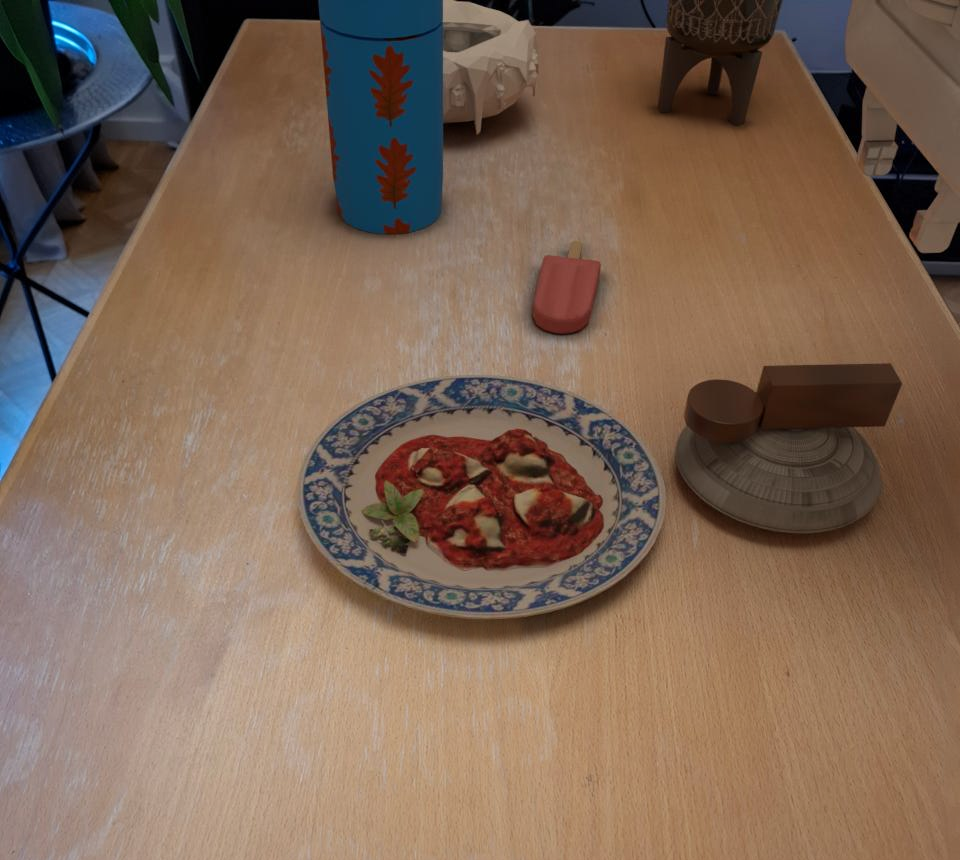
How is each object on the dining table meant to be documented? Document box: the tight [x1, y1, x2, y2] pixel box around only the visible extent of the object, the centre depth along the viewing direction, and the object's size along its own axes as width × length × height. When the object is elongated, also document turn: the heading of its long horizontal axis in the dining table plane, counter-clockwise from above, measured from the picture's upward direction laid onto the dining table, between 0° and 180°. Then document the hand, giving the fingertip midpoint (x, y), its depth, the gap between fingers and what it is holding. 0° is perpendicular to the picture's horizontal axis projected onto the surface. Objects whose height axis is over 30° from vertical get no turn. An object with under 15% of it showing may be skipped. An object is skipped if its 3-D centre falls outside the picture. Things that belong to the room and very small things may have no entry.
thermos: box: [317, 0, 444, 235], centre depth 91 cm, size 11×11×25 cm
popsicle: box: [531, 240, 602, 335], centre depth 90 cm, size 5×2×15 cm
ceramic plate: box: [296, 374, 667, 620], centre depth 70 cm, size 26×26×3 cm
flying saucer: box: [674, 425, 883, 534], centre depth 72 cm, size 15×15×6 cm
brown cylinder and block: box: [683, 362, 903, 443], centre depth 69 cm, size 14×5×4 cm, turn 94°
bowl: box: [443, 0, 540, 135], centre depth 112 cm, size 21×20×10 cm
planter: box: [657, 0, 784, 126], centre depth 112 cm, size 13×13×18 cm
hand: (897, 206), depth 59 cm, fingers open, 8 cm apart
